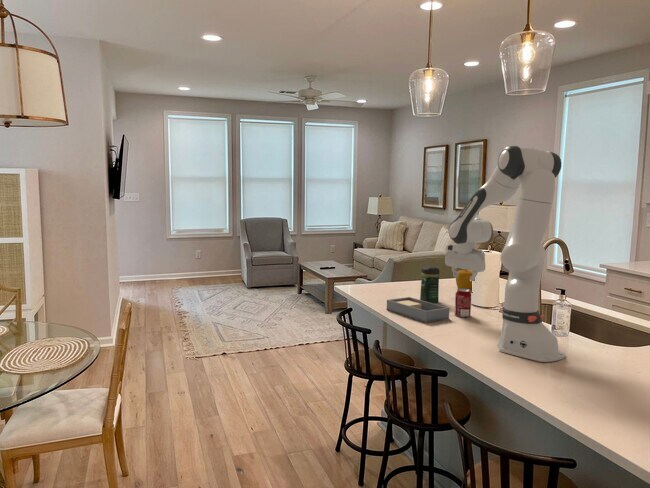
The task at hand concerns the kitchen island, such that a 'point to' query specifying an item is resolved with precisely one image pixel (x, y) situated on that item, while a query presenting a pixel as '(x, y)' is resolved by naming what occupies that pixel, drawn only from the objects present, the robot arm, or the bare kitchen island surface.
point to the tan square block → (411, 304)
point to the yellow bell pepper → (464, 279)
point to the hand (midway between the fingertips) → (463, 279)
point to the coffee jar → (429, 284)
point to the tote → (419, 310)
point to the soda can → (463, 303)
